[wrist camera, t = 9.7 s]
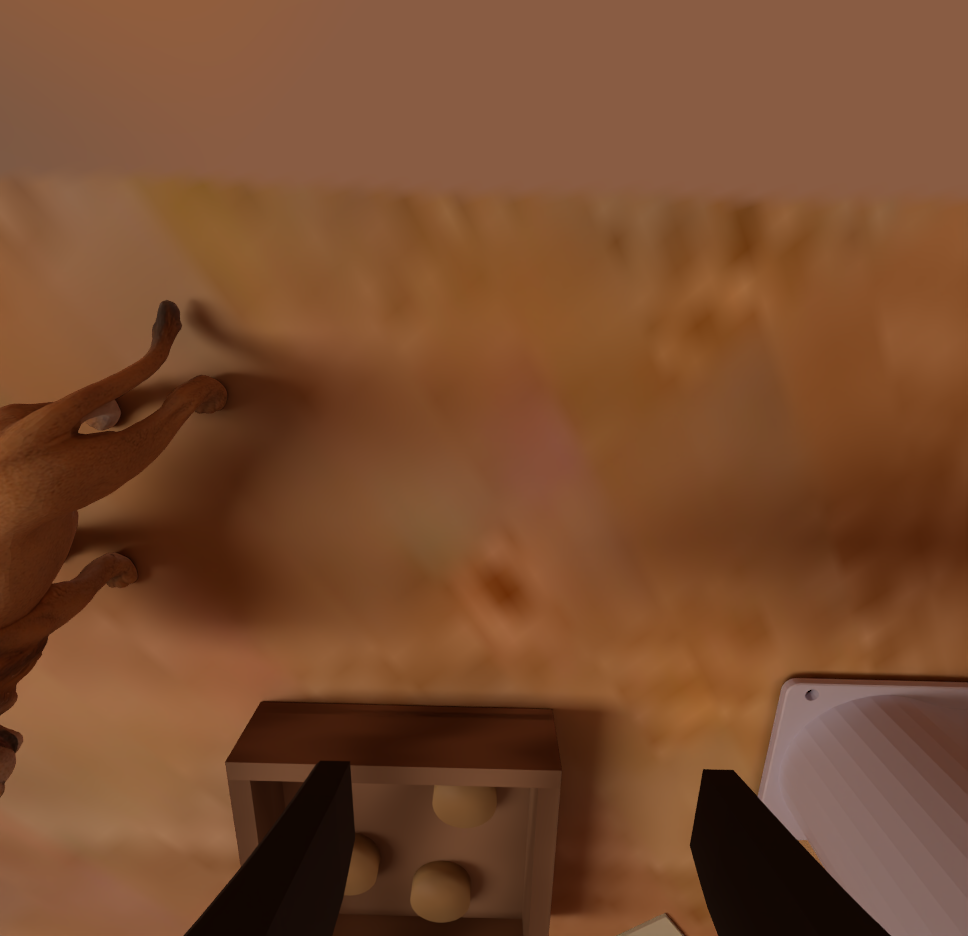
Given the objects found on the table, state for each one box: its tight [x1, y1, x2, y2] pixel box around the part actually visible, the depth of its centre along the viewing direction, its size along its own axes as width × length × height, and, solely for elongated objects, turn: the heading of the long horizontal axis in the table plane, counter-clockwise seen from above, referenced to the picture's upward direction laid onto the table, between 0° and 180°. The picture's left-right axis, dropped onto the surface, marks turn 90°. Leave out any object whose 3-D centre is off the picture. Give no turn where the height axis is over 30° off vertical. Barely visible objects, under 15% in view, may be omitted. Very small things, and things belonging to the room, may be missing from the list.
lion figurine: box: [0, 300, 227, 797], centre depth 15 cm, size 15×5×9 cm, turn 155°
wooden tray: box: [225, 702, 562, 936], centre depth 22 cm, size 12×12×3 cm
